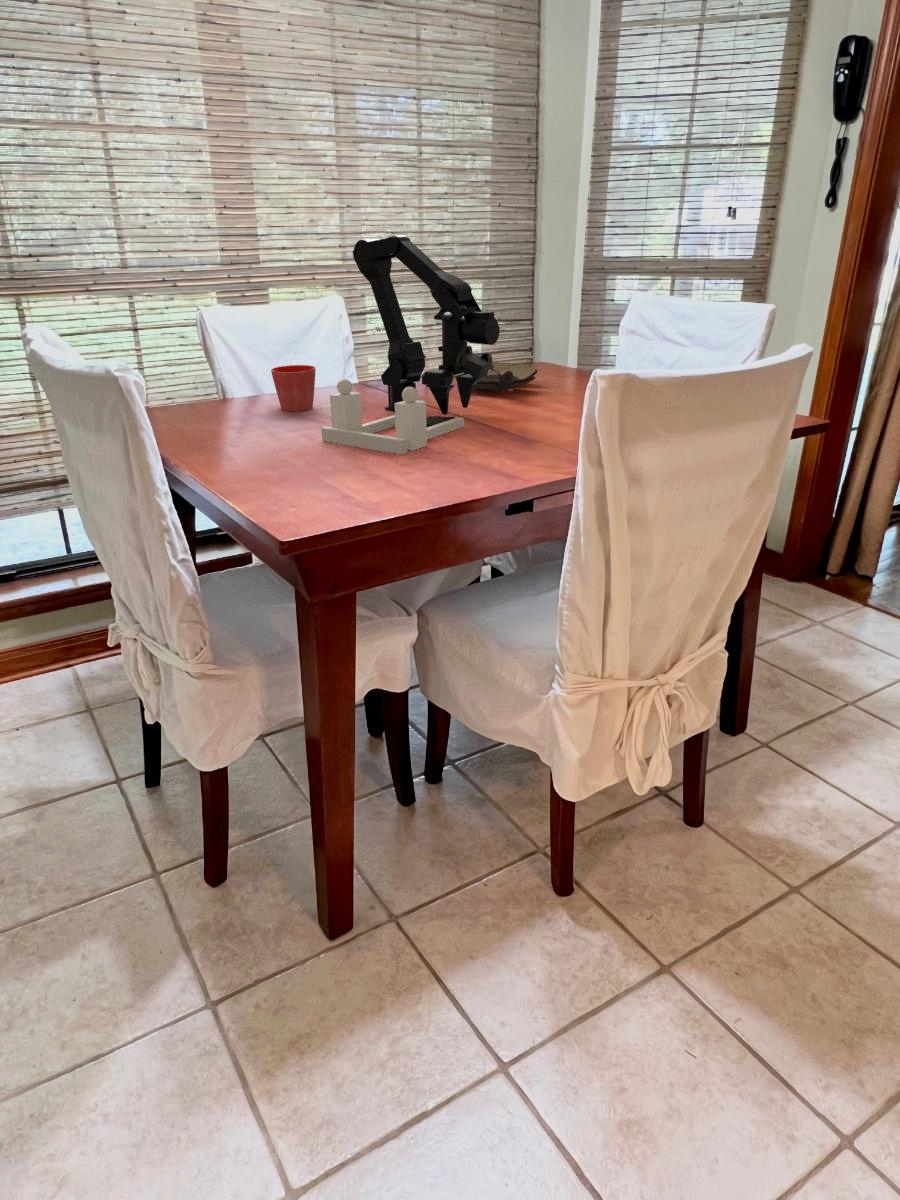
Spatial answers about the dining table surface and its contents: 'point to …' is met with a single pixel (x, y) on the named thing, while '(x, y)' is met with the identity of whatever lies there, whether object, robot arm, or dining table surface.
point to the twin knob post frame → (382, 423)
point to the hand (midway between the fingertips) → (455, 411)
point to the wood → (436, 420)
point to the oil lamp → (506, 377)
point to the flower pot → (294, 386)
